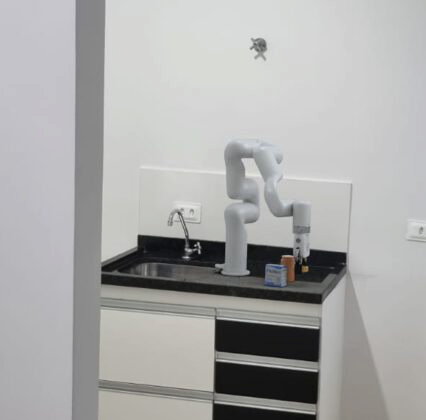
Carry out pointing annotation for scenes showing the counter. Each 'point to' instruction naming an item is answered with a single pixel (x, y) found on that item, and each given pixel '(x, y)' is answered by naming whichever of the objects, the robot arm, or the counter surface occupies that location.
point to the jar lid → (304, 268)
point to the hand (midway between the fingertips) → (300, 272)
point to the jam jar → (288, 266)
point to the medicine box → (275, 275)
